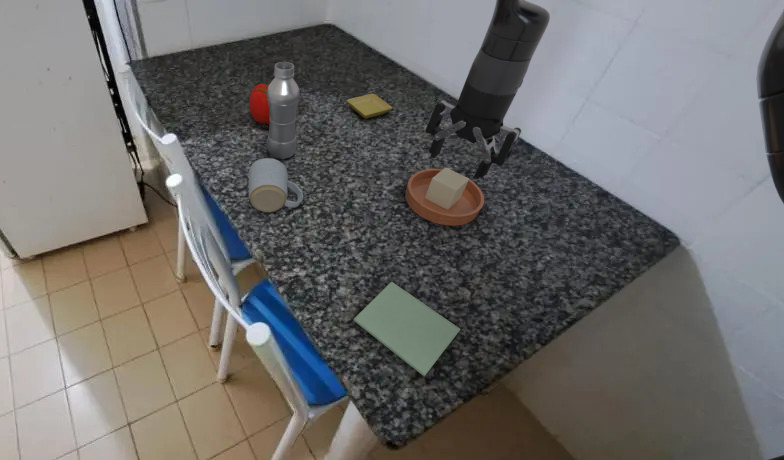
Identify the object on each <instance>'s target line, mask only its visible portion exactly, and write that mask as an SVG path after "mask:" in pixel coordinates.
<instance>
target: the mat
mask: <svg viewBox="0 0 784 460" xmlns="http://www.w3.org/2000/svg"><path fill="white" fill-rule="evenodd" d="M353 321H354V322H355V323H356V324H357V325H358V326H360V327H361V328H362V329H364V330H365V331H366V332H368V334H370V335H371V336H372V337H373V338H375V339H376V340H377V341H378V342H380V343H381V344H382V345H383V346H385V347H386V348H387V349H389V350H390V351H391V352H392V353H394V354H395V355H396V356H397V357H398V358H400V359H401V360H402V361H403V362H405V363H406V364H407V365H409V366H410V367H411V368H413V369H414V370H415V371H416V372H417V373H419V374H420V375H421V376H422V377H425V376H426V375H428V373H429V371H430V370H431V369H432V368H433V366H434V365H435V363H436V362H437V361H438V359H439V358H440V357H441V356H442V354H443V353H444V352H445V350H447V348H448V347H449V345H450V344H451V343H452V341H454V340H455V338H456V337H457V335H458V333H460V331H461V328H460V327H459V326H457V325H456V324H454V323H452V322H451V321H449V320H448V319H446V317H444V316H443V315H441V314H439V313H438V312H437V311H436V310H434V309H432V308H431V307H429V306H428V305H426V304H425V303H423V302H422V301H421V300H419V299H418V298H416V297H415V296H414V295H412V294H410V293H409V292H407V291H406V290H405V289H403V288H402V287H401V286H399V285H398V284H396V283H395V282H393V281H390V282H389V283H388V284H387V285H386V286H385V287H384V288H383V289H382V290H381V291H380V292H379V293H378V294H377V295H376V296H375V297H374V298H373V299H372V300H371V301H370V302H369V303H368V304H367V305H366V306H365V307H364V308H363V309H362V310H361V311H360V312H359V313H358V314H357V315H356V316H355V317H354V318H353Z"/></svg>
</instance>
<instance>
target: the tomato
mask: <svg viewBox="0 0 784 460" xmlns="http://www.w3.org/2000/svg"><path fill="white" fill-rule="evenodd" d="M269 85H270V83H258V84H257V85H255V86H254V88H252V90H251V92H250V94H249V104H248V107H249V113H250V115H251V116H252V119H254V121H256V122H257V123H259V124H260V125H266V124H267V125H268V126H269V125H270V116H269V105H268V99H267V89H268V86H269Z"/></svg>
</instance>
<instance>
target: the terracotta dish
mask: <svg viewBox="0 0 784 460" xmlns="http://www.w3.org/2000/svg"><path fill="white" fill-rule="evenodd" d="M443 169H444V168H443ZM443 169H442V168H426V169H422V170H419V171H417V172H415V173H413V174H412V175H411V176H410V177H409V179H408V181H407V184H406V187H405V191H404V197H405V202H406V203H407V205H408V207H409V208H410V209H411V210H412V211H413V212H414V213H416V214H417V215H418V216H419V217H421V218H422V219H425V220H426V221H428V222H431V223H435V224H438V225H440V226H441V225H443V226H451V227H458V226H463V225H467V224H470V223H472V222H473V221H474V220H475V219H476V218H477V217H478V216H479V214H480V212H481V210H482V208H483V207H484V203H485V196H484V193H483V192H482V189H481V187H479V186H478V185H477V184H476V183H475V181H473V180H471V179H470V178H469V181H468V183H467V185H466V187H465V189H464V191H463V193H462V195H461V197H460V199H459V200H458V201H457V202H456V203H455V204H454V205H453V206H452V207H451V208H449V209H448V210H446V209H444V208H442V207H441V206H439V205H437V204H435V203H433V202H431V201H430V200H428V199H426V198H425V196H426V193H427V191H428V188H429V185H430V183H431V180H432V178H433V177H434V176H436V175H437V174H438V173H439V172H440V171H442V170H443ZM457 173H458V174H460V175H462V174H461V173H459V172H457Z"/></svg>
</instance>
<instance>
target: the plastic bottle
mask: <svg viewBox="0 0 784 460" xmlns="http://www.w3.org/2000/svg"><path fill="white" fill-rule="evenodd" d="M273 77H274V78H273V79H272V80H271V81H270V83H269V84H270V85H269V86H268V89H267V99H268V105H269V116H270V125H268V126H269V127H268V136H267V141H266V147H267V151H268V153H269V154H270V155H271V156H272V157H273V158H274V159H278V160H284V159H289V158H291V157H292V156H293V155H294V154H295V153H296V151H297V148H298V138H297V130H296V129H297V128H296V119H297V118H296V117H297V111H298V106H299V102H300V93H301V91H300V88H299V86H298V84H297V82H296V81H295V79H294V77H295V65H294V63H292V62H289V61H279V62H276V63H275V64H274V71H273Z"/></svg>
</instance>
